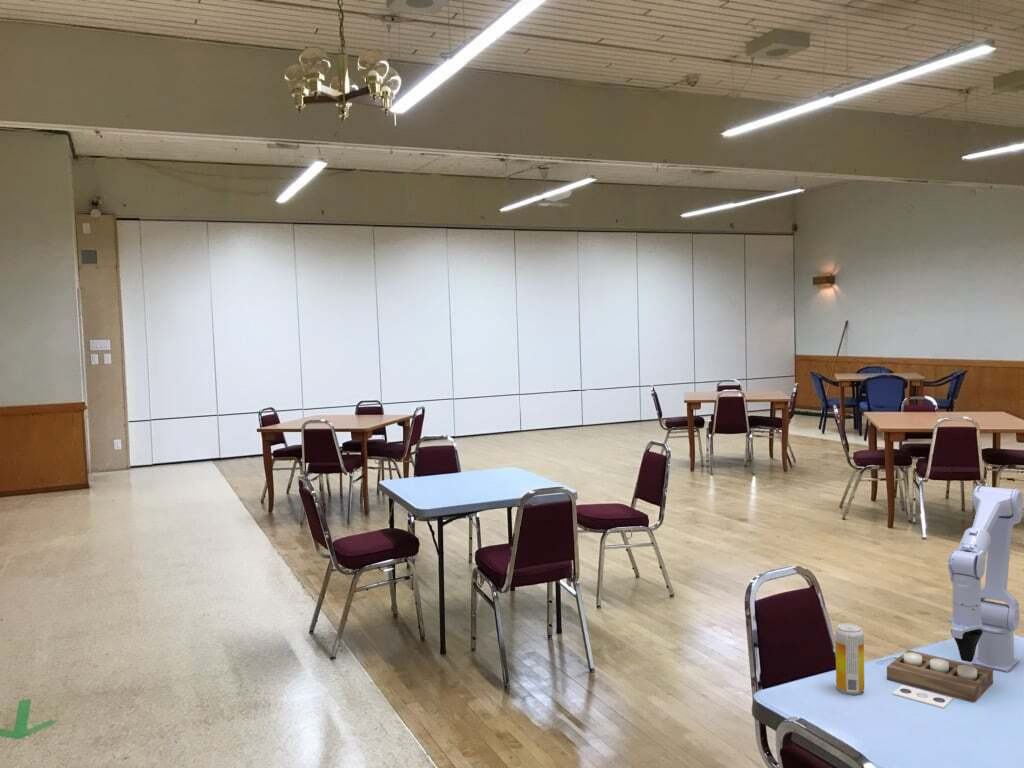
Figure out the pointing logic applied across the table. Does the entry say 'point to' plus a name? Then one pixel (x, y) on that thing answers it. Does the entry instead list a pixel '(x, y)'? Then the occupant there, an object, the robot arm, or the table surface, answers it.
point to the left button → (913, 659)
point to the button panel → (940, 678)
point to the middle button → (939, 665)
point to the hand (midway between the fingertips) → (967, 660)
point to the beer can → (850, 658)
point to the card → (922, 696)
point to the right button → (967, 672)
